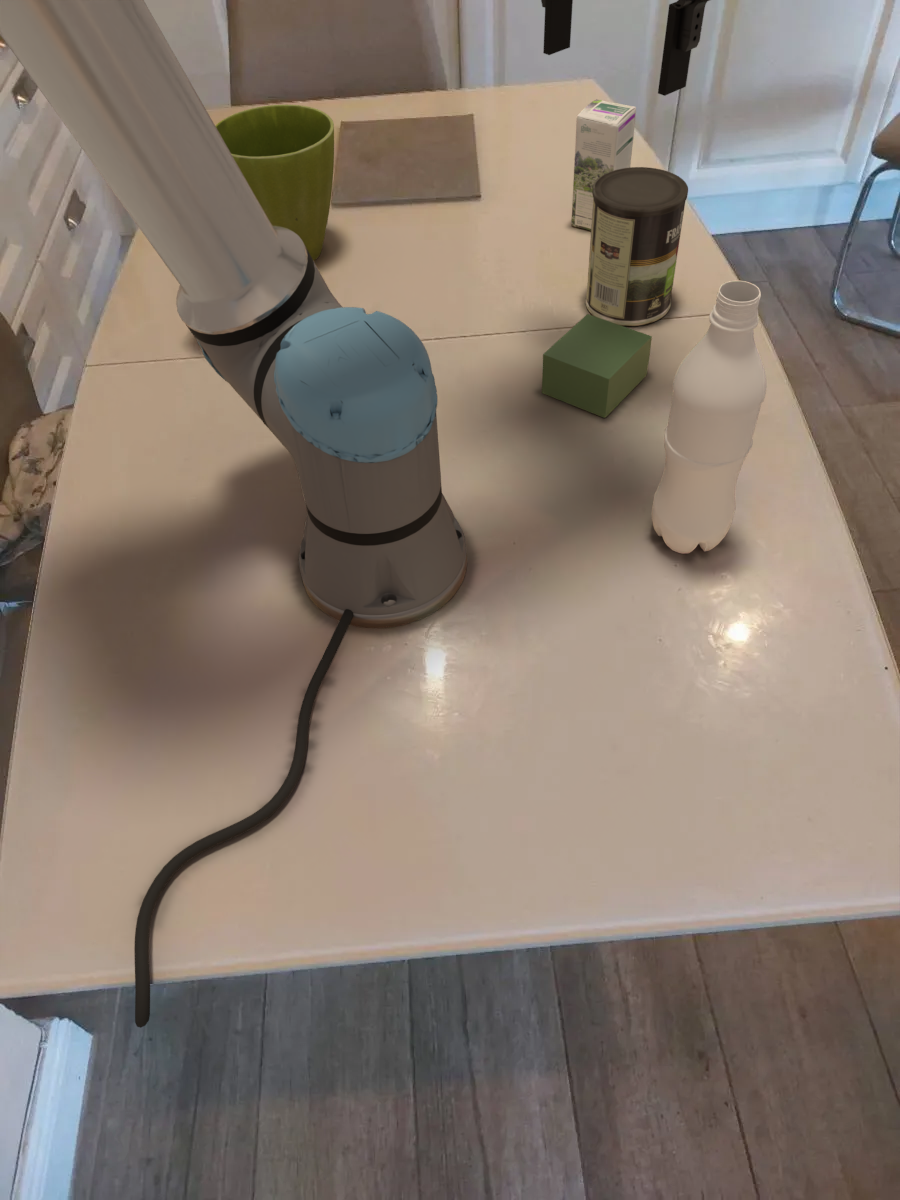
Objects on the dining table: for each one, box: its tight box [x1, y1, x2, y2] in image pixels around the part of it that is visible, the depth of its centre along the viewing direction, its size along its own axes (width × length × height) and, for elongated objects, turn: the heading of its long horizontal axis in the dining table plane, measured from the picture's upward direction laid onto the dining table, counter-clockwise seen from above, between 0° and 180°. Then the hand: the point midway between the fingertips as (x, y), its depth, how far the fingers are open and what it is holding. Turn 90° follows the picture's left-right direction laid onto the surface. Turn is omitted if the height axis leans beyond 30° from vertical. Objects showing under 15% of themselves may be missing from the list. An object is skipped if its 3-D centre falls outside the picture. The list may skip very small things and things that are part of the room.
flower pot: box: [214, 104, 335, 262], centre depth 115 cm, size 15×15×16 cm
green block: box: [541, 313, 653, 419], centre depth 98 cm, size 9×8×5 cm
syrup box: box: [570, 98, 637, 232], centre depth 117 cm, size 6×6×14 cm
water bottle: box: [651, 280, 767, 554], centre depth 75 cm, size 7×7×25 cm
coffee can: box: [584, 166, 689, 327], centre depth 105 cm, size 10×10×14 cm
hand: (611, 69), depth 80 cm, fingers open, 13 cm apart
